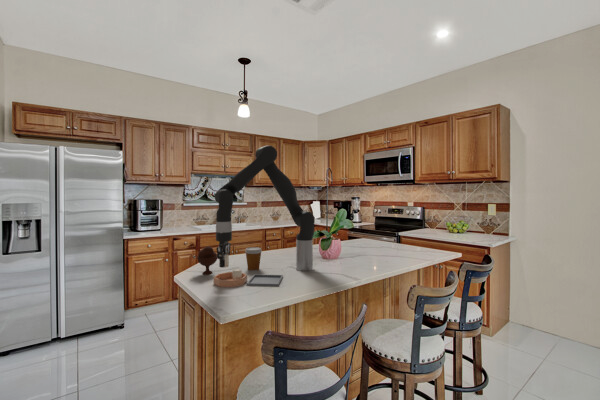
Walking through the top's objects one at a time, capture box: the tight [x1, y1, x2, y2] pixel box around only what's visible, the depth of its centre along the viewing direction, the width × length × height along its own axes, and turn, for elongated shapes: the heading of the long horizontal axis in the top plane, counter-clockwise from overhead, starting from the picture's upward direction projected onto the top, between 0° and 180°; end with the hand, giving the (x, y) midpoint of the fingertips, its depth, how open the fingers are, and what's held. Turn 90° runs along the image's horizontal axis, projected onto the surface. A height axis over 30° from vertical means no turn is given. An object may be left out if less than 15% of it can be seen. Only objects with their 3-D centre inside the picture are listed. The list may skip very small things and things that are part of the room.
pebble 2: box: [231, 269, 243, 280], centre depth 144 cm, size 4×4×6 cm
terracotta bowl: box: [213, 271, 248, 288], centre depth 144 cm, size 15×15×4 cm
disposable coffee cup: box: [244, 246, 263, 271], centre depth 169 cm, size 10×10×12 cm
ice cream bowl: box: [196, 245, 218, 276], centre depth 161 cm, size 11×11×15 cm
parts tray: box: [245, 273, 284, 287], centre depth 146 cm, size 15×15×2 cm
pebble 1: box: [218, 254, 230, 268], centre depth 144 cm, size 4×4×6 cm
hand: (223, 265), depth 144 cm, fingers closed on pebble 1, 4 cm apart
